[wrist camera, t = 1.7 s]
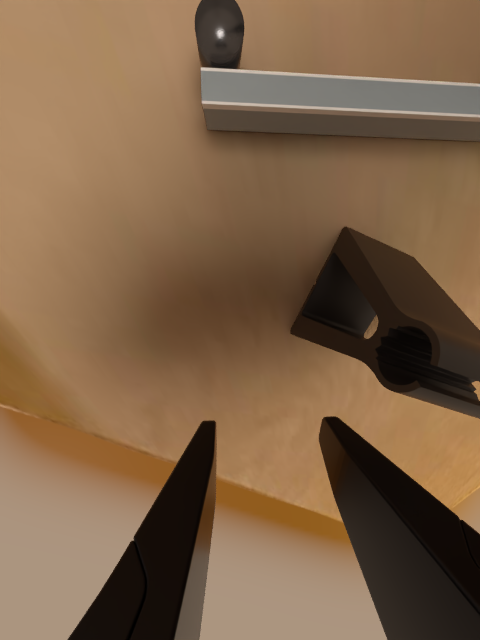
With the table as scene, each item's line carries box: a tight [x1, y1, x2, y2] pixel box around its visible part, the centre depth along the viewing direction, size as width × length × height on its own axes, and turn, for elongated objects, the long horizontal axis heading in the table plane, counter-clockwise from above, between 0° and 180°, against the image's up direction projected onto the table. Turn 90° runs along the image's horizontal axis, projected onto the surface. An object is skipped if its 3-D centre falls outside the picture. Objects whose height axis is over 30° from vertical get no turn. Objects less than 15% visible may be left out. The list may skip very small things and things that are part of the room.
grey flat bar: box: [201, 67, 480, 141], centre depth 13 cm, size 18×1×4 cm, turn 89°
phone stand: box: [291, 227, 480, 419], centre depth 15 cm, size 9×6×12 cm, turn 158°
